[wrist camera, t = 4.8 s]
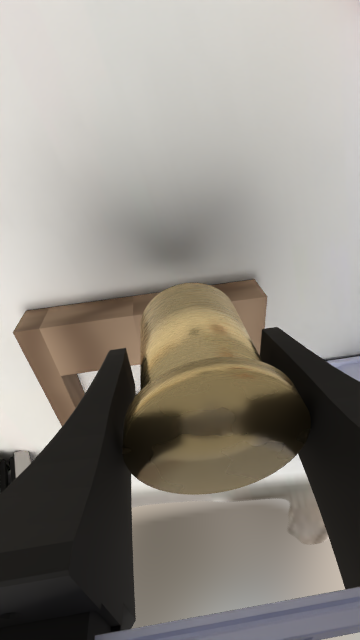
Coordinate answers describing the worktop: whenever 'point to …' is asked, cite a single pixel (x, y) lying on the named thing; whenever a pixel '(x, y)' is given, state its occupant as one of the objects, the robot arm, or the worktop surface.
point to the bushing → (207, 399)
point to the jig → (105, 337)
